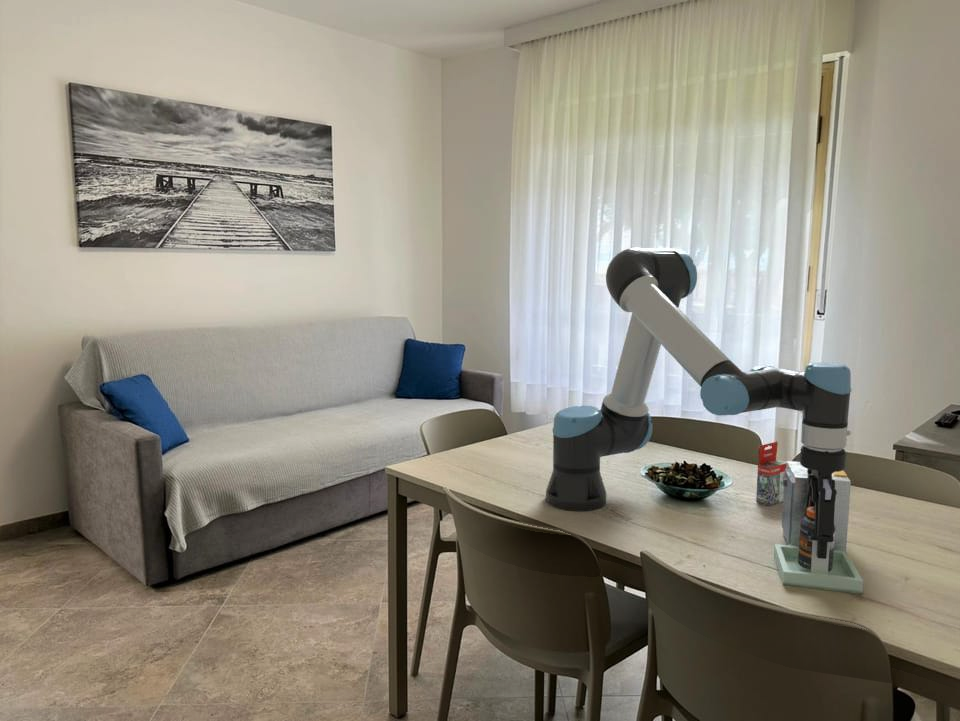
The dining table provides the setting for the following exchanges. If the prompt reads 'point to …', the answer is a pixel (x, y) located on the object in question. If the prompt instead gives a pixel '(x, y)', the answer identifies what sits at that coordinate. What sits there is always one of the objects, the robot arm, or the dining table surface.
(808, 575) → the tray
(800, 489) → the unit
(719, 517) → the dining table surface
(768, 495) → the ink box
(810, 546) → the pill bottle
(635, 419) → the robot arm
